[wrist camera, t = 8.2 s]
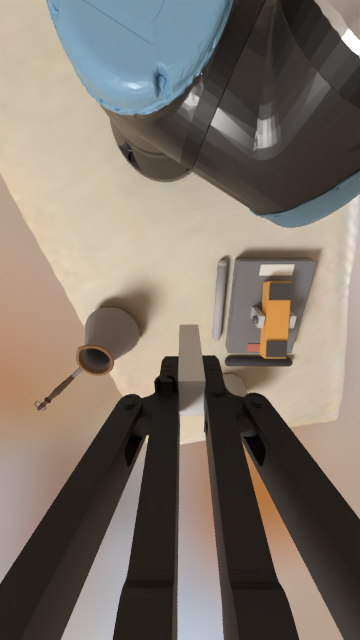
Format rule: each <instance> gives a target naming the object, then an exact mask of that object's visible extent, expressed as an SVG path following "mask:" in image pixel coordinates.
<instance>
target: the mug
mask: <svg viewBox="0 0 360 640" xmlns="http://www.w3.org/2000/svg"><path fill="white" fill-rule="evenodd" d="M223 379H224V383H225V386H226V388H227V389H228V391H229V392H231V393H232V394H234V395H237V396H241V397H245V396H246V394H247V391H246V388H245V385H244V382H243V380H242V379H241V378H240V377H239V376H237V375H235V374H223Z"/></svg>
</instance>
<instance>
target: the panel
mask: <svg viewBox="0 0 360 640" xmlns="http://www.w3.org/2000/svg"><path fill="white" fill-rule="evenodd" d="M316 264H317V261H315V260H312V259H309V258H237V259H235V265H234V274H233V283H232V292H231V301H230V310H229V319H228V328H227V337H226V348H227V351H228V353H260V337H261V328H263V326H264V321H265V315H264V314H263V313H262V297H263V282H268V281H292V282H291V298H290V312H289V327H288V342H287V353H292V349H293V345H294V342H295V338H296V335H297V331H298V328H299V324H300V321H301V317H302V314H303V310H304V307H305V303H306V300H307V296H308V293H309V289H310V286H311V282H312V278H313V275H314V271H315V268H316Z"/></svg>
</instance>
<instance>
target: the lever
mask: <svg viewBox="0 0 360 640" xmlns="http://www.w3.org/2000/svg"><path fill="white" fill-rule="evenodd" d="M291 282H292V281H268V282H263V297H262V313H263V314H264V315H265V321H264V326H263V328H261V337H260V355H261V356H262V357H263V358H286V357H287V342H288V327H289V312H290V298H291Z"/></svg>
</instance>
